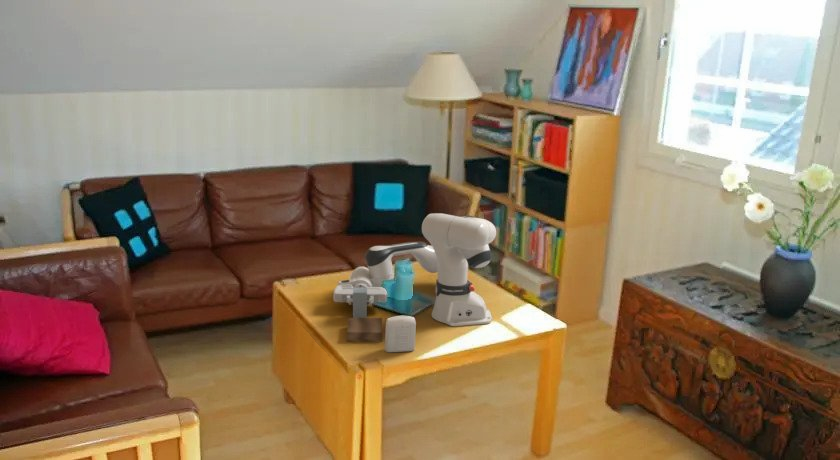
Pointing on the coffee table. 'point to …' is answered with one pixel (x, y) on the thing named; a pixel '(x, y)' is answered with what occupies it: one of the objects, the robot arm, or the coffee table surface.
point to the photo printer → (400, 334)
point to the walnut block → (364, 330)
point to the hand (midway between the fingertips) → (359, 303)
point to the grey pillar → (359, 302)
